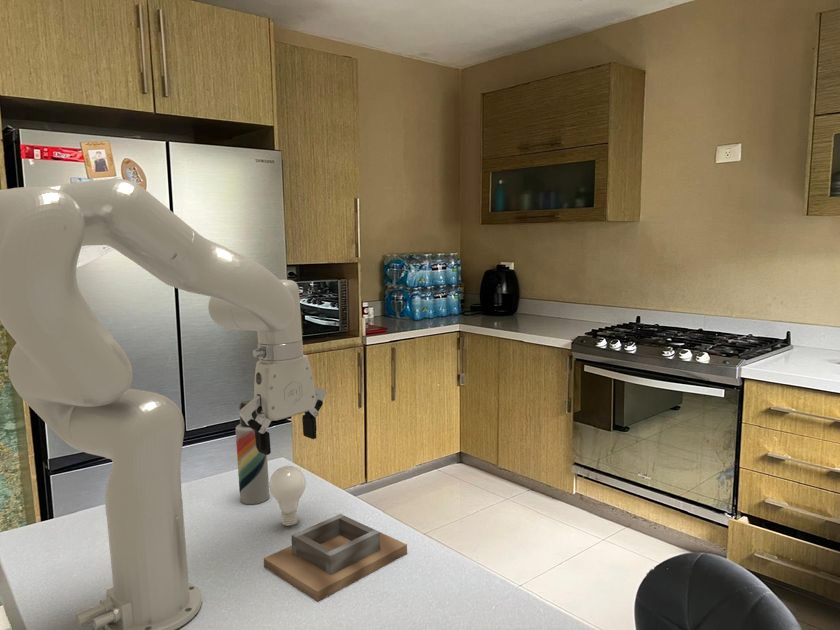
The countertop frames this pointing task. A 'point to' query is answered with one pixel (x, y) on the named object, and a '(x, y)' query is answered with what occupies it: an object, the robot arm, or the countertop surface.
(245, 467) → the lotion bottle
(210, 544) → the countertop surface
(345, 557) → the lamp socket
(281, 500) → the lightbulb
